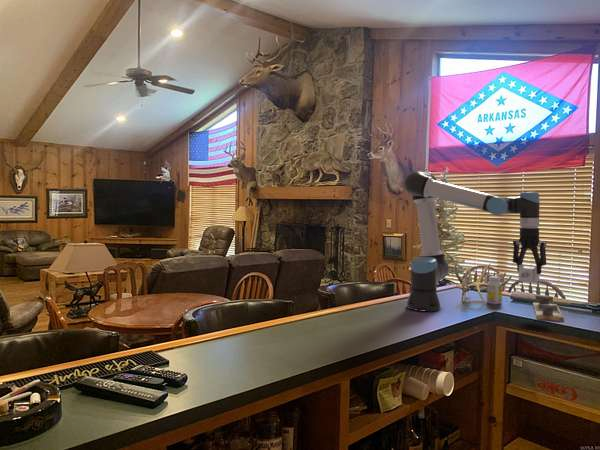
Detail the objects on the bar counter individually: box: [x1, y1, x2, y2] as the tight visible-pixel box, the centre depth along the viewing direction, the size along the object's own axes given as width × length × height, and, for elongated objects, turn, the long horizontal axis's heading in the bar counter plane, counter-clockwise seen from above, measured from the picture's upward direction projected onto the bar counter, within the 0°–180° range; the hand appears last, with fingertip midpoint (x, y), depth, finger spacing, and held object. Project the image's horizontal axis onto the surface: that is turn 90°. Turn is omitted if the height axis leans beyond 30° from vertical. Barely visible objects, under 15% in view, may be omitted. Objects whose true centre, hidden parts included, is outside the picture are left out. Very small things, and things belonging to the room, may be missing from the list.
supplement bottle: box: [486, 275, 503, 305], centre depth 221 cm, size 7×7×13 cm
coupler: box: [518, 265, 535, 284], centre depth 197 cm, size 6×9×6 cm, turn 126°
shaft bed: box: [532, 294, 565, 322], centre depth 201 cm, size 10×26×6 cm, turn 156°
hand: (528, 280), depth 197 cm, fingers closed on coupler, 6 cm apart
